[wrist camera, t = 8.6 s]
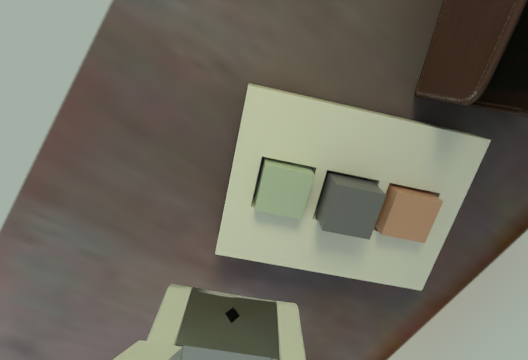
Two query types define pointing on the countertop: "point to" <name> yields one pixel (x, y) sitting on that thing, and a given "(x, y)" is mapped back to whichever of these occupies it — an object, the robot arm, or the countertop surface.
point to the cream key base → (349, 164)
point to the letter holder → (479, 56)
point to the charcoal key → (349, 206)
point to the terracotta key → (408, 213)
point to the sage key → (283, 188)
